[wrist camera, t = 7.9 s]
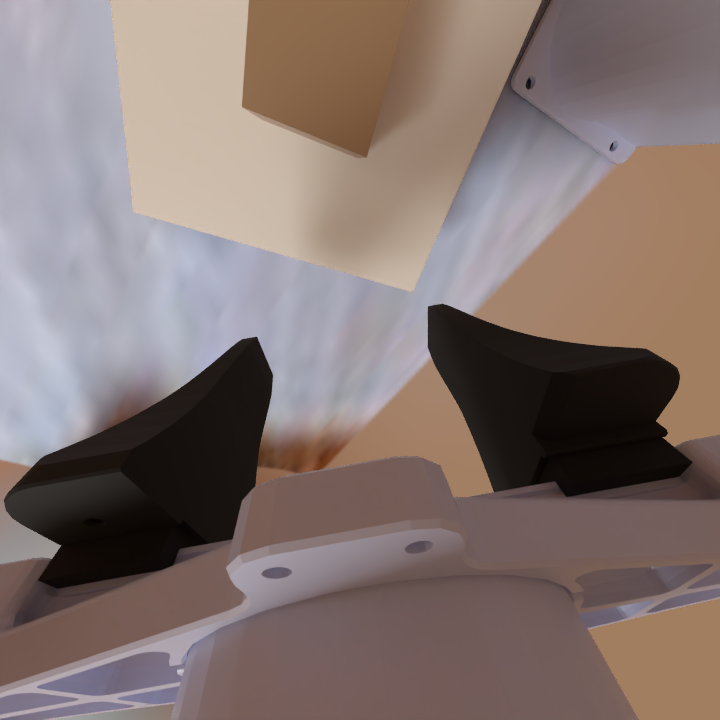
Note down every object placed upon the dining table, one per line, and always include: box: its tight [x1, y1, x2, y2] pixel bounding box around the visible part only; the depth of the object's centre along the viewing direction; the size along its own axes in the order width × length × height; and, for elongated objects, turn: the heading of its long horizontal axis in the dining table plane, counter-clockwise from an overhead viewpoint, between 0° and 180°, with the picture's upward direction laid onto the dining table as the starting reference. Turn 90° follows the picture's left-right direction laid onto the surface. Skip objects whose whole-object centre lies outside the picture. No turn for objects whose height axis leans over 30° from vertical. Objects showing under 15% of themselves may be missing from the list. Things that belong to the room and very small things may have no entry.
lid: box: [110, 0, 542, 292], centre depth 10 cm, size 14×14×4 cm
